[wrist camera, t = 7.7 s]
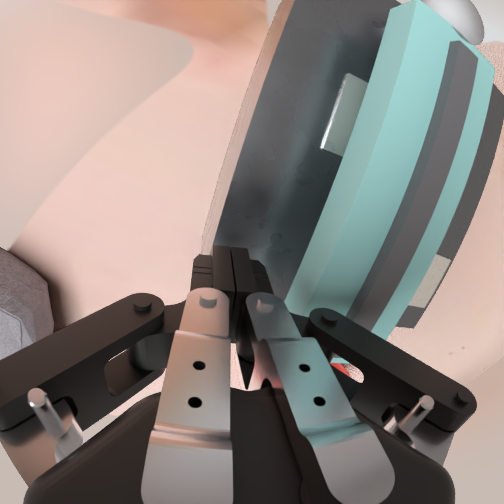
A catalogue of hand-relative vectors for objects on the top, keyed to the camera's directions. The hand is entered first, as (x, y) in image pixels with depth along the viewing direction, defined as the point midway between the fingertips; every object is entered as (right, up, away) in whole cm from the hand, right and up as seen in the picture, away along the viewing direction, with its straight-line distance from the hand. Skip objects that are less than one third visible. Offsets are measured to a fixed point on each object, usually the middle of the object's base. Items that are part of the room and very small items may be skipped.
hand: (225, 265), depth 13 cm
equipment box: (+8, +8, +8) cm, 14 cm away
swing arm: (+7, +4, -2) cm, 9 cm away
